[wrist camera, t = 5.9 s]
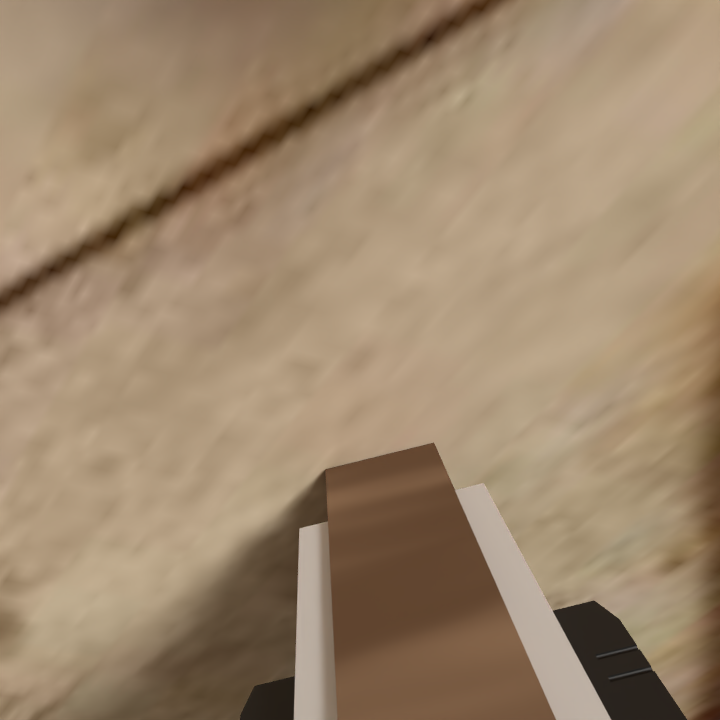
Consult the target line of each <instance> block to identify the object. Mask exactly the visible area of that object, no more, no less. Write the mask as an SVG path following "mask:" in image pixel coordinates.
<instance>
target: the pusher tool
mask: <svg viewBox="0 0 720 720" xmlns="http://www.w3.org/2000/svg"><path fill="white" fill-rule="evenodd" d="M325 471H326V492H327V513H328V533H329V554H330V575H331V596H332V616H333V637H334V658H335V679H336V700H337V720H556V719H555V716H554V714H553V712H552V709H551V707H550V705H549V703H548V700H547V698H546V696H545V694H544V691H543V689H542V687H541V685H540V682H539V680H538V678H537V675H536V673H535V671H534V669H533V666H532V664H531V662H530V660H529V657H528V655H527V653H526V650H525V648H524V646H523V644H522V641H521V639H520V637H519V635H518V632H517V630H516V628H515V626H514V623H513V621H512V619H511V616H510V614H509V612H508V610H507V607H506V605H505V603H504V601H503V598H502V596H501V594H500V592H499V589H498V587H497V585H496V582H495V580H494V578H493V576H492V573H491V571H490V569H489V567H488V564H487V562H486V560H485V558H484V555H483V553H482V551H481V548H480V546H479V544H478V542H477V539H476V537H475V535H474V533H473V530H472V528H471V526H470V523H469V521H468V519H467V517H466V514H465V512H464V510H463V508H462V505H461V503H460V501H459V499H458V496H457V494H456V492H455V489H454V487H453V485H452V483H451V480H450V478H449V476H448V474H447V471H446V469H445V467H444V465H443V462H442V460H441V458H440V455H439V453H438V451H437V449H436V446H435V444H434V443H431V444H427V445H423V446H419V447H415V448H411V449H407V450H403V451H399V452H395V453H391V454H387V455H383V456H379V457H375V458H370V459H366V460H362V461H358V462H354V463H350V464H346V465H342V466H338V467H334V468H330V469H326V470H325Z"/></svg>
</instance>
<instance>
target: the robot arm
mask: <svg viewBox="0 0 720 720" xmlns="http://www.w3.org/2000/svg"><path fill="white" fill-rule="evenodd" d="M455 492H456V494H457V496H458V499H459V501H460V503H461V505H462V508H463V510H464V512H465V514H466V517H467V519H468V521H469V523H470V526H471V528H472V530H473V533H474V535H475V537H476V539H477V542H478V544H479V546H480V548H481V551H482V553H483V555H484V558H485V560H486V562H487V564H488V567H489V569H490V571H491V573H492V576H493V578H494V580H495V582H496V585H497V587H498V589H499V592H500V594H501V596H502V598H503V601H504V603H505V605H506V607H507V610H508V612H509V614H510V616H511V619H512V621H513V623H514V626H515V628H516V630H517V632H518V635H519V637H520V639H521V641H522V644H523V646H524V648H525V650H526V653H527V655H528V657H529V660H530V662H531V664H532V666H533V669H534V671H535V673H536V675H537V678H538V680H539V682H540V685H541V687H542V689H543V691H544V694H545V696H546V698H547V700H548V703H549V705H550V707H551V709H552V712H553V714H554V716H555V719H556V720H687V719H686V717H685V716H684V714H683V713H682V711H681V710H680V708H679V707H678V705H677V704H676V702H675V701H674V699H673V698H672V697H671V695H670V694H669V692H668V691H667V689H666V688H665V686H664V685H663V683H662V682H661V680H660V679H659V677H658V676H657V674H656V673H655V671H654V672H653V670H652V668H651V665H650V664H649V662H648V661H647V660H646V658H645V657H644V655H643V654H642V652H641V651H640V650H638V648H637V645H636V643H635V642H634V640H633V639H632V637H631V636H630V634H629V633H628V631H627V630H626V628H625V627H624V625H623V624H622V622H621V621H620V620H619V619H618V618H617V617H616V616H614V615H613V614H612V613H610V612H609V611H608V610H606V609H605V608H604V607H602V606H601V605H600V604H598V603H597V602H595V601H591V602H586V603H582V604H578V605H574V606H570V607H566V608H562V609H558V610H554V611H552V609H551V607H550V605H549V603H548V602H547V600H546V598H545V596H544V594H543V592H542V590H541V589H540V587H539V585H538V583H537V581H536V579H535V577H534V576H533V574H532V572H531V570H530V568H529V566H528V564H527V563H526V561H525V559H524V557H523V555H522V553H521V551H520V550H519V548H518V546H517V544H516V542H515V540H514V538H513V537H512V535H511V533H510V531H509V529H508V527H507V525H506V524H505V522H504V520H503V518H502V516H501V514H500V513H499V511H498V509H497V507H496V505H495V503H494V501H493V500H492V498H491V496H490V494H489V492H488V490H487V488H486V487H485V485H484V483H482V484H478V485H473V486H469V487H465V488H461V489H457V490H455ZM240 720H337V700H336V679H335V658H334V637H333V616H332V596H331V575H330V554H329V533H328V521H327V522H323V523H319V524H315V525H311V526H307V527H303V528H299V561H298V595H297V628H296V662H295V676H294V677H290V678H286V679H281V680H277V681H273V682H269V683H265V684H261V685H257V686H254V689H253V691H252V693H251V695H250V697H249V699H248V701H247V703H246V705H245V707H244V709H243V711H242V713H241V717H240Z"/></svg>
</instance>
